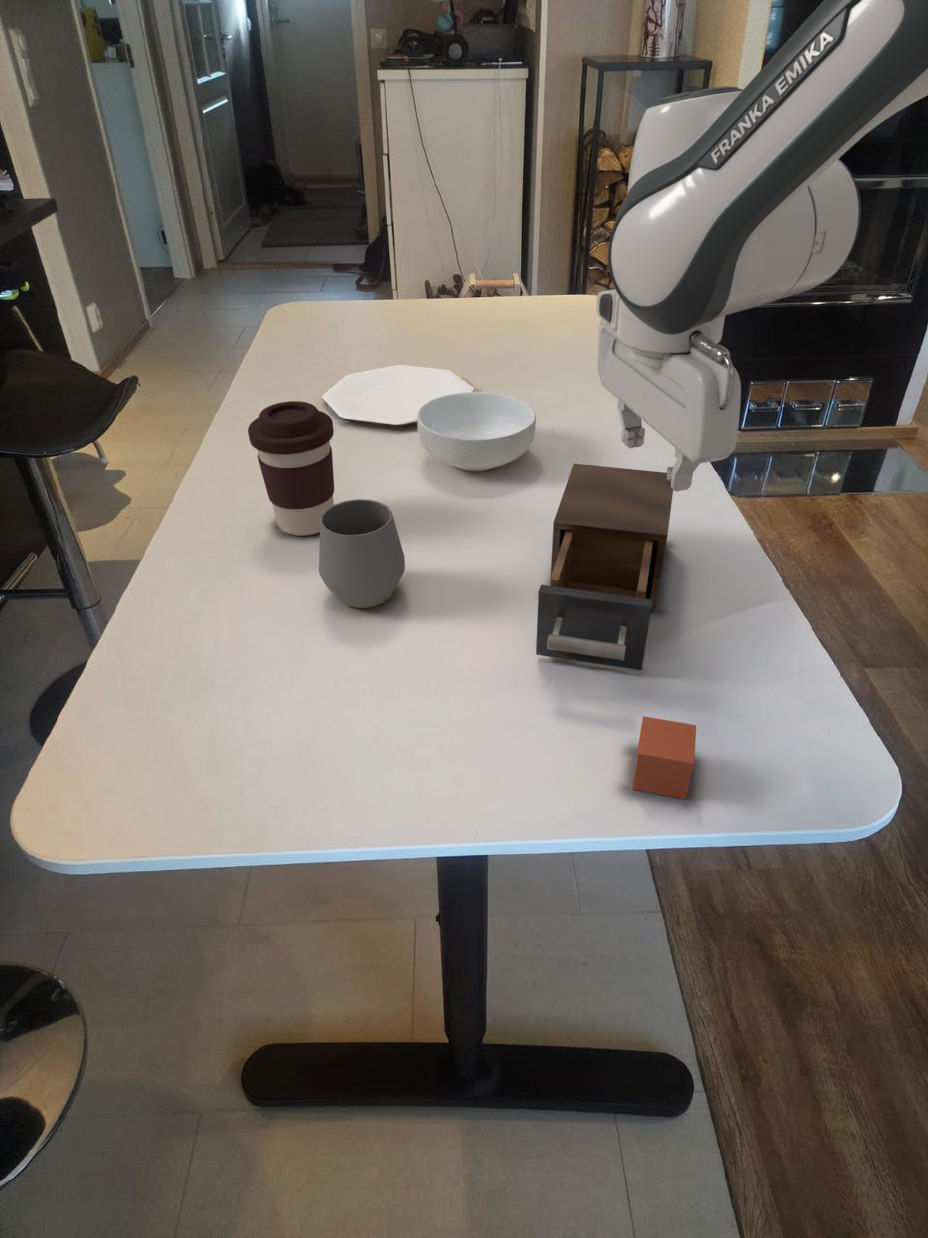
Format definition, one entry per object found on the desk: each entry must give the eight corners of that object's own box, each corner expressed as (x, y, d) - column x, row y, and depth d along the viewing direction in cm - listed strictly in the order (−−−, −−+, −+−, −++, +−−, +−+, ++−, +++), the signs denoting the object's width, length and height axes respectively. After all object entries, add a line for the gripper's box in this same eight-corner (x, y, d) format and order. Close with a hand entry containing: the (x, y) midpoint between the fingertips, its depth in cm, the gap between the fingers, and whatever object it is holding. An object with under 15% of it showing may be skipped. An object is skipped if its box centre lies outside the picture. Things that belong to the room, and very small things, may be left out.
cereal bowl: (547, 480, 110) (549, 432, 106) (428, 493, 108) (425, 444, 104) (519, 429, 123) (520, 384, 119) (412, 439, 121) (409, 394, 117)
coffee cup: (270, 506, 106) (249, 398, 97) (345, 500, 107) (331, 392, 98) (264, 546, 98) (241, 432, 89) (345, 539, 99) (330, 426, 90)
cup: (408, 616, 87) (402, 537, 80) (321, 622, 86) (308, 543, 80) (405, 567, 94) (399, 492, 88) (326, 573, 94) (314, 497, 87)
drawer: (637, 700, 74) (647, 635, 69) (527, 682, 76) (529, 618, 72) (652, 596, 87) (661, 535, 82) (557, 584, 89) (560, 523, 84)
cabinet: (655, 611, 86) (667, 535, 80) (549, 596, 89) (553, 521, 83) (664, 544, 97) (675, 473, 91) (569, 533, 99) (573, 463, 93)
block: (688, 760, 69) (696, 724, 67) (686, 799, 66) (694, 763, 63) (637, 751, 70) (643, 715, 68) (632, 789, 67) (638, 753, 64)
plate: (494, 411, 129) (494, 402, 128) (356, 442, 121) (355, 433, 120) (434, 365, 146) (433, 357, 145) (309, 390, 138) (308, 381, 137)
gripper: (774, 350, 60) (742, 510, 69) (650, 282, 76) (637, 419, 84) (698, 361, 59) (676, 523, 67) (589, 290, 75) (581, 428, 83)
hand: (653, 464), depth 76 cm, fingers open, 8 cm apart
